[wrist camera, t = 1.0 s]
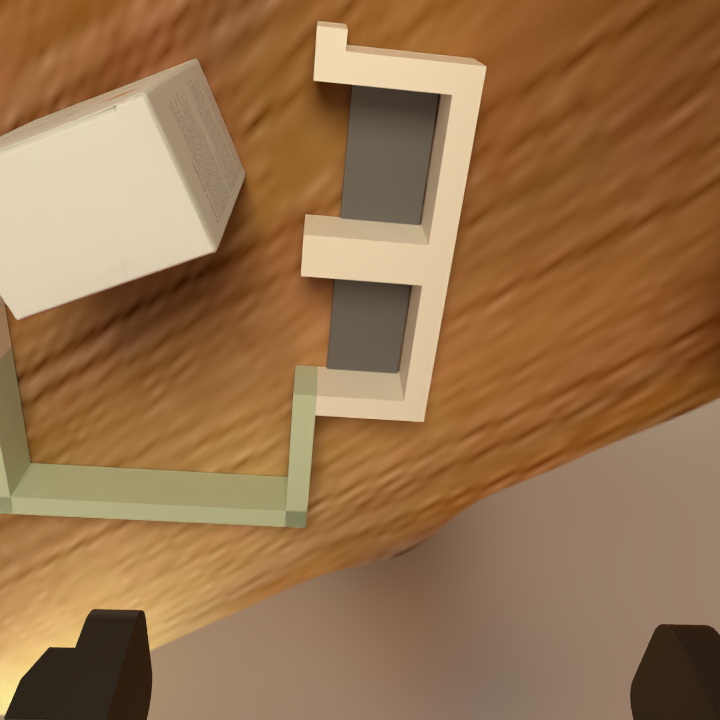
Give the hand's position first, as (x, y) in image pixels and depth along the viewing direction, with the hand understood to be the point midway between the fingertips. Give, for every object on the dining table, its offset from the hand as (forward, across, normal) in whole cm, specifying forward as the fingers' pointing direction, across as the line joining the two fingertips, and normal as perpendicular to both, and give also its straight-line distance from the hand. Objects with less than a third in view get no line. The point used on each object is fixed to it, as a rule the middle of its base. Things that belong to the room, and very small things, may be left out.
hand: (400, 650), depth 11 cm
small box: (+26, +10, -1) cm, 28 cm away
